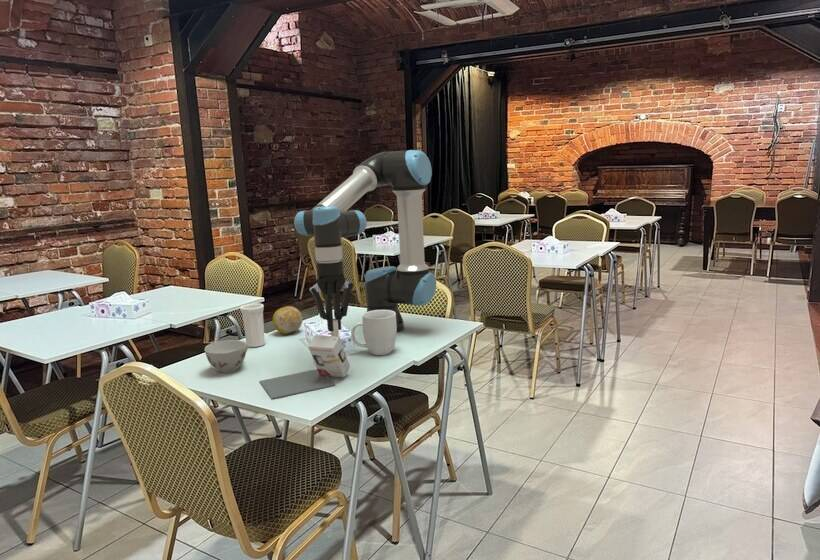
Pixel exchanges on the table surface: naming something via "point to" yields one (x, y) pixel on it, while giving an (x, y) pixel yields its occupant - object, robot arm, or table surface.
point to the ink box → (329, 356)
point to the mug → (378, 331)
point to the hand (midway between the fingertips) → (335, 341)
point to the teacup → (226, 354)
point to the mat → (295, 384)
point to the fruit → (287, 319)
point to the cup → (253, 324)
